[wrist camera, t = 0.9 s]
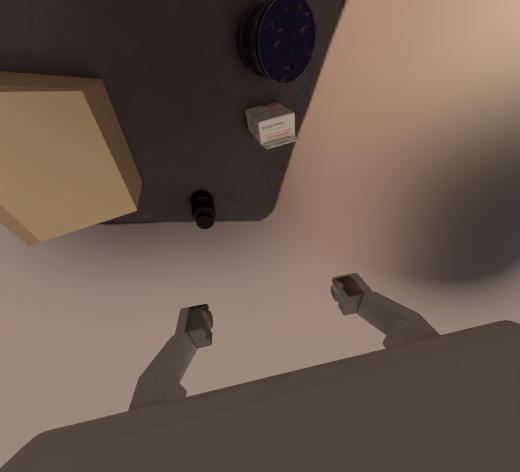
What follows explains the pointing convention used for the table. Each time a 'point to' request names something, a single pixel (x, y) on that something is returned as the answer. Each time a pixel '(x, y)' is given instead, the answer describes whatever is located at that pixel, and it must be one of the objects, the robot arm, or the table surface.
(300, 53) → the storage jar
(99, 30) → the table surface
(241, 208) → the table surface
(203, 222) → the supplement bottle
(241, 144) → the table surface
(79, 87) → the carton
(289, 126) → the ink cartridge box
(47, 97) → the flap
